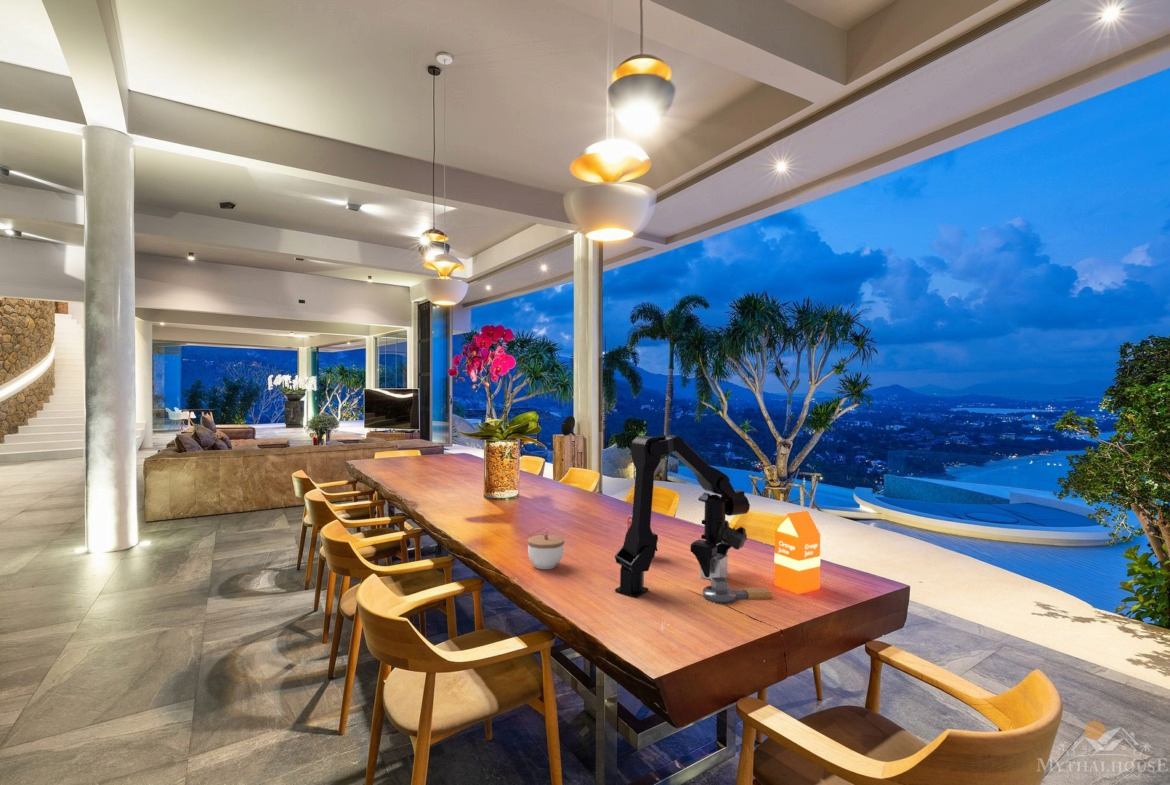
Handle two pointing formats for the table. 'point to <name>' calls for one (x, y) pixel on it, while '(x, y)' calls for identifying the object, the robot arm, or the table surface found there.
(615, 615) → the table surface
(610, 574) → the table surface
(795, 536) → the orange juice
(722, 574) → the white metal cube
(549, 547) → the lidded jar
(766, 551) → the table surface
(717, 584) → the ratchet
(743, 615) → the table surface
